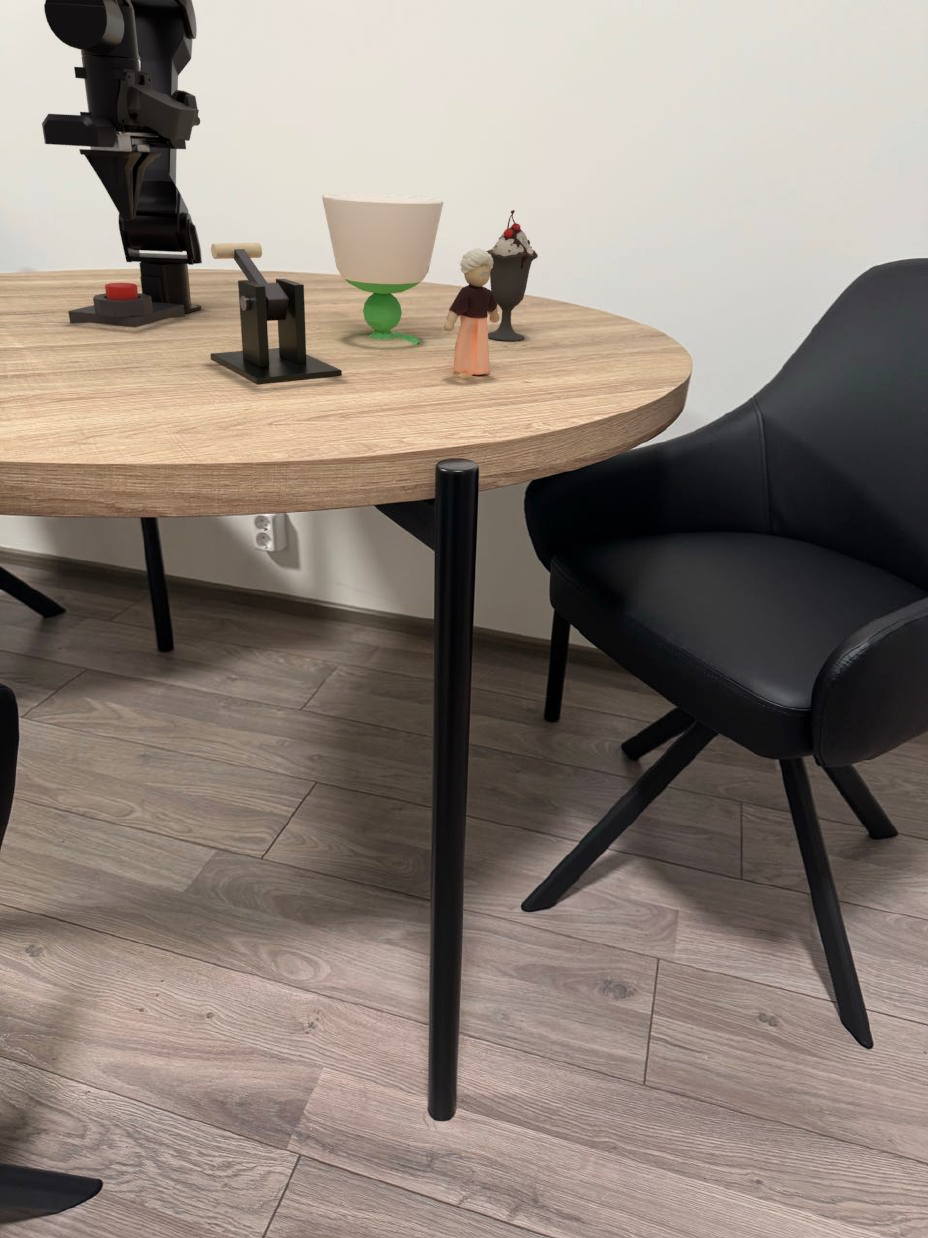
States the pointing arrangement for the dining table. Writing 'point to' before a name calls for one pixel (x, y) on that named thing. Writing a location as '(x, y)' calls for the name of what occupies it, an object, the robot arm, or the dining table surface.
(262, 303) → the switch bracket
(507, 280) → the sundae
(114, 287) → the power button
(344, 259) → the cup
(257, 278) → the lever
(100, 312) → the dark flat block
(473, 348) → the grandmother figurine
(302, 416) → the dining table surface
